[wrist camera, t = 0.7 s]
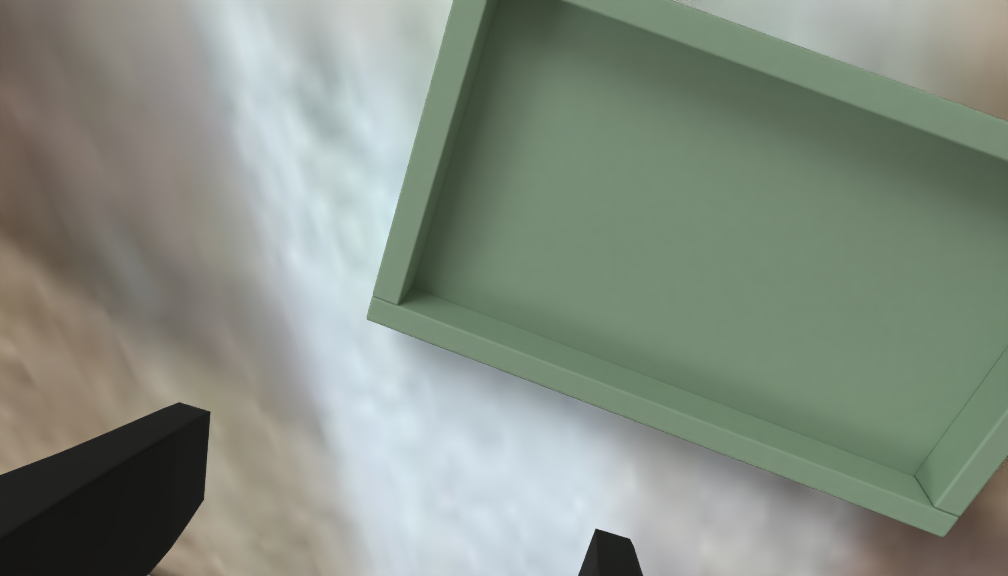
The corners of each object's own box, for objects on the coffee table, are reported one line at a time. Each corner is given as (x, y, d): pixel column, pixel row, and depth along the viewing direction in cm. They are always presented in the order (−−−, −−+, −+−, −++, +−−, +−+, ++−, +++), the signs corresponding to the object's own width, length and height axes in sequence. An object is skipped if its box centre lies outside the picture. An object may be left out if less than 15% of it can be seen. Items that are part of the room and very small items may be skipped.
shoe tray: (917, 494, 21) (944, 539, 20) (387, 294, 22) (365, 319, 20) (1152, 176, 17) (1215, 196, 15) (488, -63, 18) (472, -72, 16)
